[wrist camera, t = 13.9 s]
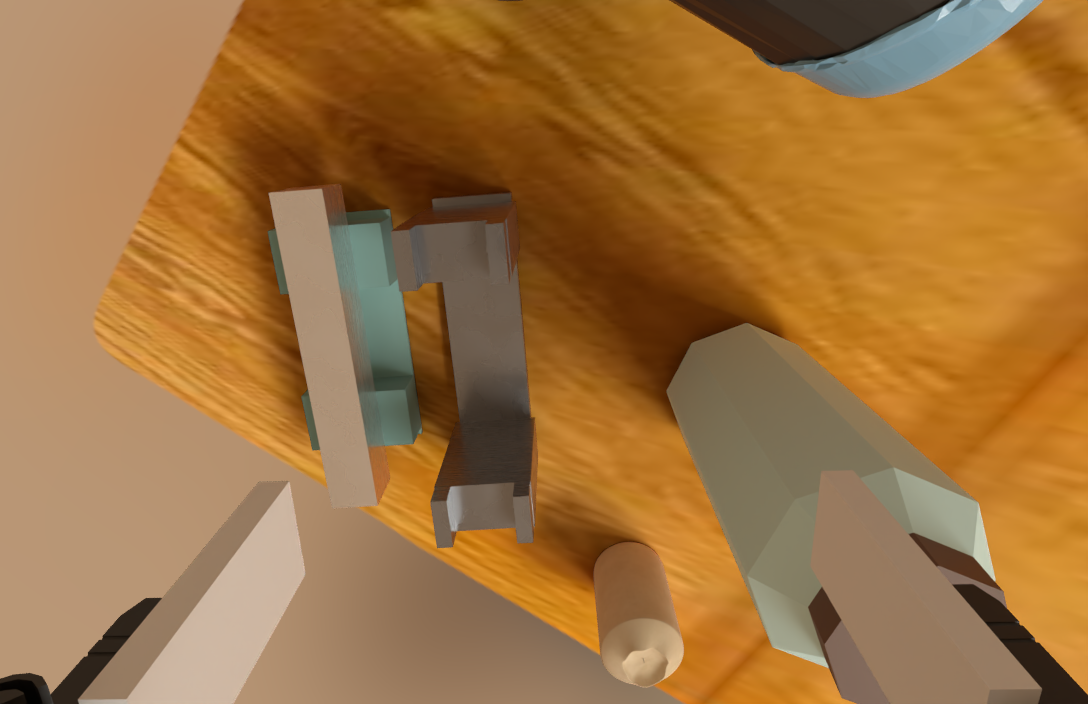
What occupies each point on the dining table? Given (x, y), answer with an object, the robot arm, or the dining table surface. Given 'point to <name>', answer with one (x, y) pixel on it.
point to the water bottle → (808, 486)
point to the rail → (332, 340)
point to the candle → (636, 615)
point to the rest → (376, 326)
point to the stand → (478, 361)
